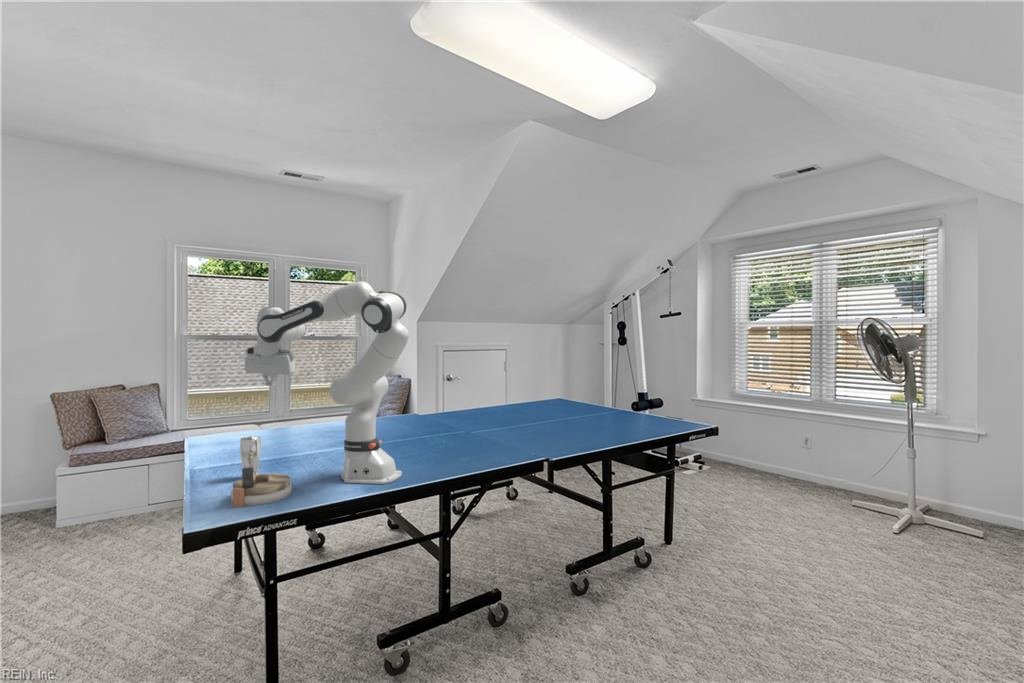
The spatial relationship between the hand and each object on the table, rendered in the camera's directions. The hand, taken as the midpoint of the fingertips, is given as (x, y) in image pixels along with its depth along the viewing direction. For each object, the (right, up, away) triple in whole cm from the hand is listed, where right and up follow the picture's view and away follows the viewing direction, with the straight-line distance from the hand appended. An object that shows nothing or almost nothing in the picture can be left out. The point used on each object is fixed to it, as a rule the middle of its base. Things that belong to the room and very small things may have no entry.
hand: (270, 385), depth 190 cm
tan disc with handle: (+9, -32, -23) cm, 40 cm away
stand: (+9, -35, -23) cm, 43 cm away
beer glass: (-6, -34, -4) cm, 35 cm away
